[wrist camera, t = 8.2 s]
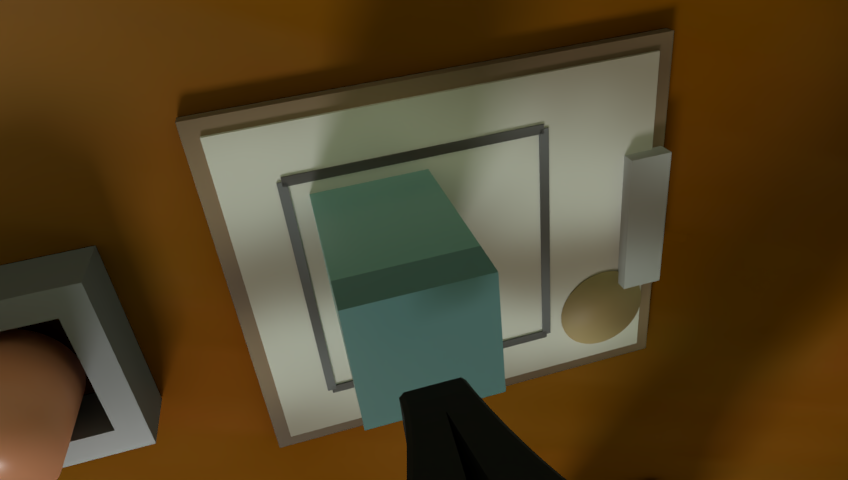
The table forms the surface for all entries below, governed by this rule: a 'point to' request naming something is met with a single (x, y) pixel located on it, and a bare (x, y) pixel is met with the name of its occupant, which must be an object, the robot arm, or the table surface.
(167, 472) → the table surface
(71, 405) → the button
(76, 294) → the button housing
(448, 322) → the teal banded box
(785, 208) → the table surface
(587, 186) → the clipboard with paper sheet
